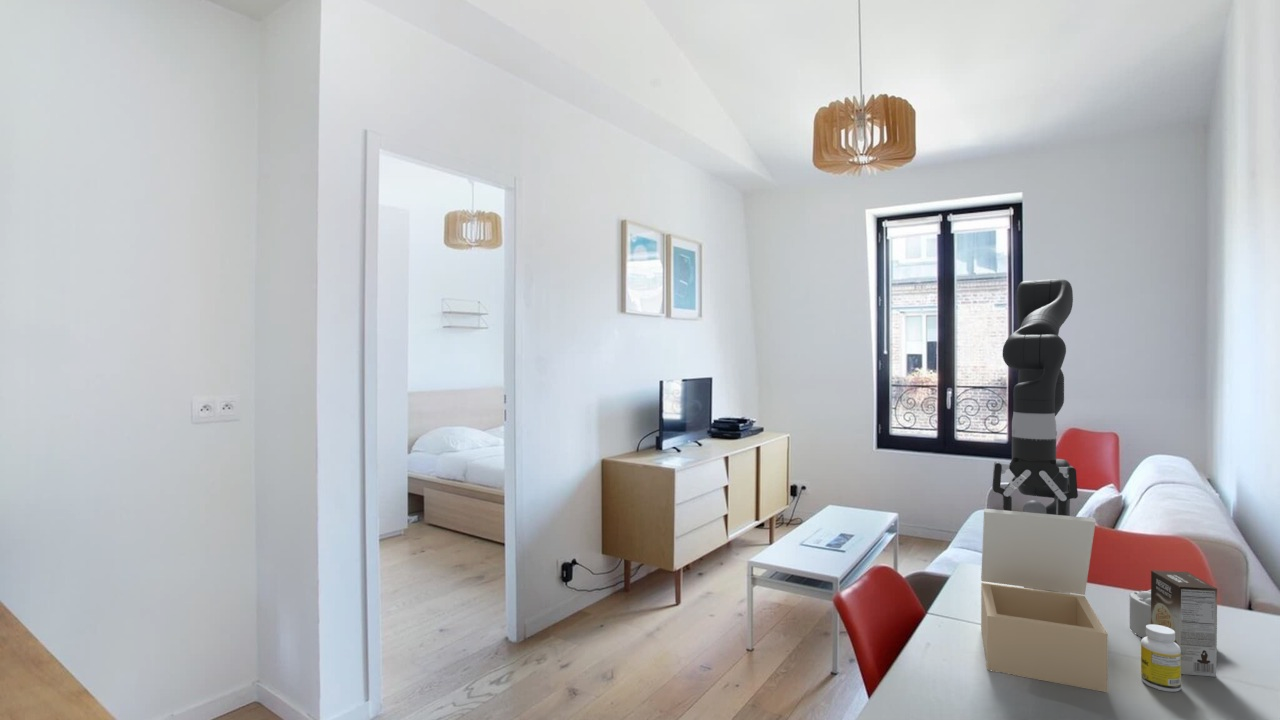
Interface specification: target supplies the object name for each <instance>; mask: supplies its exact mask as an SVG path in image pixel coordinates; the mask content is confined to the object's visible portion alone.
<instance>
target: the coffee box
mask: <svg viewBox="0 0 1280 720" xmlns="http://www.w3.org/2000/svg"><path fill="white" fill-rule="evenodd" d="M1150 590H1151V624H1155V625H1161V626H1165V627H1168V628H1170V629H1172V630H1174V631H1175V641H1174V642H1175V643H1176V644H1178V646H1179V647H1180V650H1181V675H1188V676H1189V675H1191V676H1202V677H1211V678H1212V677H1213V678H1214V677H1215V678H1217V657H1218V655H1217V654H1218V653H1217V645H1218V644H1217V643H1218V641H1217V639H1218V638H1217V637H1218V636H1217V635H1218V588H1216V587H1215V586H1213V585H1211V584H1209V583H1207V582H1206V581H1204V580H1203V579H1200V578H1198V577H1197V576H1195V575H1193V574H1192V573H1189V572H1188V571H1175V570H1174V571H1172V570H1153V569H1152V570H1150Z"/></svg>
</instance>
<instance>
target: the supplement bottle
mask: <svg viewBox="0 0 1280 720" xmlns="http://www.w3.org/2000/svg"><path fill="white" fill-rule="evenodd" d="M1146 635H1147V637H1144V638H1141V641H1140V665H1141V666H1140V676H1141V681H1142V682H1143V683H1144V684H1145V685H1147V686H1148V687H1151V688H1152V689H1156V690H1159V691H1162V692H1169V693H1170V692H1171V693H1174V692H1175V693H1176V692H1179V691H1180V690H1181V689H1182V674H1181V650H1180V647H1179V646H1178V644H1176V643H1175V642H1174V641H1175V631H1174V630H1172V629H1170V628H1168V627H1165V626H1161V625H1155V624H1150V625H1146Z"/></svg>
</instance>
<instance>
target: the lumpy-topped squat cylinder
mask: <svg viewBox="0 0 1280 720" xmlns="http://www.w3.org/2000/svg"><path fill="white" fill-rule="evenodd" d="M1150 624H1151V589H1148V590H1137V591H1132V592H1130V593H1129V630H1130V629H1131V630H1132V631H1133V632H1134V633H1133V632H1132V631H1131V630H1130V631H1131V632H1132V633H1133V634H1135V633H1136V634H1137V635H1138V636H1137V635H1136V634H1135V635H1136V636H1137V637H1139V636H1140V637H1139V638H1141V637H1142V638H1141V639H1143V638H1144V637H1147V635H1146V625H1150Z"/></svg>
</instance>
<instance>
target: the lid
mask: <svg viewBox="0 0 1280 720" xmlns="http://www.w3.org/2000/svg"><path fill="white" fill-rule="evenodd" d="M1045 506H1046V505H1044V503H1042V502H1041V501H1038V500H1034V499H1031V500H1028V501H1026V502H1025V503H1024V504H1023V507H1022V511H1016V510H1012V511H1007V510H1004V509H995V508H983V521H982V522H983V526H982V528H983V529H982V549H981V550H982V551H981V553H982V554H981V568H980V570H981V573H980V574H981V575H980V578H981V579H980V580H981V582H983V583H991V584H999V585H1006V586H1014V587H1021V588H1024V587H1029V588H1037V589H1045V590H1052V591H1060V592H1068V593H1070V594H1074V595H1082V596H1085V595H1086V591H1087V585H1088V584H1087V583H1088V578H1089V577H1088V576H1089V570H1090V562H1091V556H1092V548H1093V543H1094V542H1093V541H1094V536H1095V528H1096V522H1097V521H1096V519H1095V517H1084V516H1072V515H1070V516H1063V515H1052V514H1046V513H1047V511H1046V508H1045Z"/></svg>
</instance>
